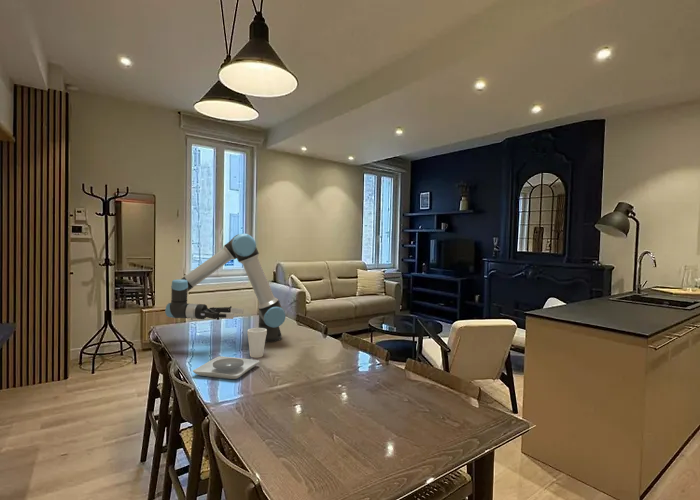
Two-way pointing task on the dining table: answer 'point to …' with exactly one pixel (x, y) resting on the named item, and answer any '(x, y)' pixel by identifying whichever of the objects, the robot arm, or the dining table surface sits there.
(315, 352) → the dining table surface
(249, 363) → the salad plate
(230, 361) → the slate coaster
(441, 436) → the dining table surface
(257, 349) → the foam cup
